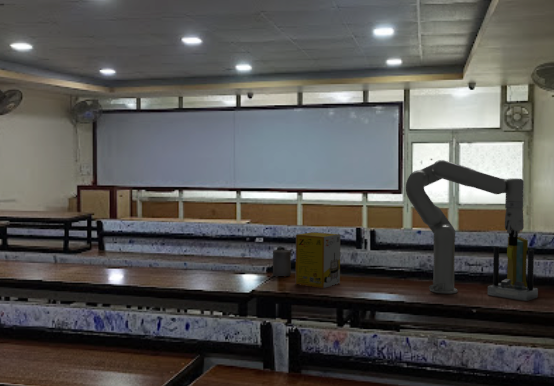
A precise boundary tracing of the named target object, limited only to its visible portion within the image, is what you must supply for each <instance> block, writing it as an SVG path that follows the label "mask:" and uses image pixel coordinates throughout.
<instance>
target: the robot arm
mask: <svg viewBox="0 0 554 386" xmlns="http://www.w3.org/2000/svg"><path fill="white" fill-rule="evenodd" d="M440 180H445V181H449V182H453V183H456V184H458V185H462V186H464V187H469V188H470V187H471V188H475V189H477V190H481V191H483V192H487V193H490V194H494V195H501V194H505V202H504V203H505V205H504V209H505V214H504V215H505V216H504V230H506V233H507V234H508V237H509V245H510V246H517V238H518V237H519V233H520V231H523V230H524V225H525V224H524V210H523V209H524V183H525V181H524V180H523V179H522V178H515V177H514V178H513V177H511V178H501V177H498V176H494V175H491V174H487V173H483V172H480V171H478V170H476V169H474V168H471V167H468V166H464V165H461V164H458V163H455V162H451V161H449V160H446V159H438V160H437V161H435V162H434V163H432V164H431V165H428V166H426V167H424V168H422V169H418V170H417V169H416V170H414V171H412V172H411V173H410V174H409V176H408V178H407V180H406V182H405V194H406V196H407V198H408V201H409V202H410V203H411V205H412V207H413V208H414V209H415V211H416V213H417V214H418V216H420V218H421V221H422V222H423V223H424V224H425V225H427V226H428V228H429V229H430V230H431V232H432V233H433V270H432V271H433V273H432V275H433V276H432V277H433V281H432V284H431V285H429V286H428V288H429V291H430V292H432V293H435V294H445V295H446V294H448V295H451V294H452V295H453V294H457V293H458V289H457V288H455V249H456V248H455V247H456V246H455V245H456V243H455V241H456V229H455V228H454V226H453V225H452V224H451V222H450V220H449V219H448V218H447V217H446V215H445V213H444V212H443V210H442V209H441V208H440V207H439V206H437V205H435V204H434V202H433V201H432V200H431V198H430V197H429V195H428V194H427V192H426V191H425V187H427V186H429V185H431V184H434V183H436V182H438V181H440Z"/></svg>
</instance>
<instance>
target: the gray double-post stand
mask: <svg viewBox="0 0 554 386" xmlns="http://www.w3.org/2000/svg"><path fill="white" fill-rule="evenodd" d="M534 257H535V250H534V249H528V250H527V275H526V283H527V287H525V286H517V285H512V284H509V285H507V286H504V285H502V284H501V282H499V274H500V246H498V245H497V246H496V245H495V246H493V262H492V263H493V268H492V270H493V271H492V273H493V275H492V276H493V277H492V285H488V286H487V296H493V297H498V298H503V299H510V300H511V299H512V300H517V301H524V302H528V301H531V300H534V299H537V298H538V297H539V296H538V295H539V288H537V287H534V265H535V264H534V262H535V258H534Z"/></svg>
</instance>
